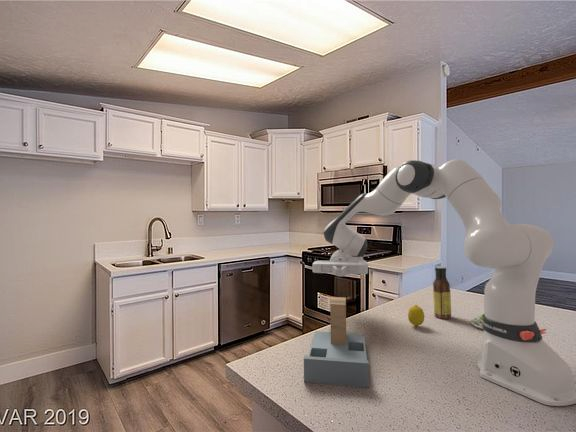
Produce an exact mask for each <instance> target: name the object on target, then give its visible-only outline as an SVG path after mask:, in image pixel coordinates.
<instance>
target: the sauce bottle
mask: <svg viewBox="0 0 576 432" xmlns="http://www.w3.org/2000/svg"><path fill="white" fill-rule="evenodd" d="M434 271H435V279H434V281H433V283H432V287H433V288H432V289H433V290H432V294H433V295H432V297H433V314H434V316H435V317H436V318H438V319H442V320H448V319H451V317H452V303H451V302H452V301H451V300H452V299H451V284H450V282H449V281H448V279H447V267H446V266H435V267H434Z"/></svg>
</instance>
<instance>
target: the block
mask: <svg viewBox="0 0 576 432" xmlns="http://www.w3.org/2000/svg"><path fill="white" fill-rule="evenodd" d="M329 306H330V308H329V309H330V311H329V313H330V318H329V319H330V332H331V344H346V333H347V298H346V297H344V296H343V297H341V296H332V297H331V300H330V305H329Z"/></svg>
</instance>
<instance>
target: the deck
mask: <svg viewBox="0 0 576 432" xmlns="http://www.w3.org/2000/svg"><path fill="white" fill-rule="evenodd" d="M365 338H366V337H365V333H355V332H353V333H352V332H350V333H349V332H346V344H331V331H318V330H317V331H314V333H313V336H312V341H311V344H310V348H309V350H308V354H307V355H304V357H303V382H304V383H309V384H310V383H312V384H324V385H334V386H336V385H337V386H345V387H346V386H347V387H355V388H356V387H359V388H369V387H370V377H369V375H370V372H369V371H370V369H369V368H370V365H369V364H370V363H369V360H368V356H367V348H366V339H365Z"/></svg>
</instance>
